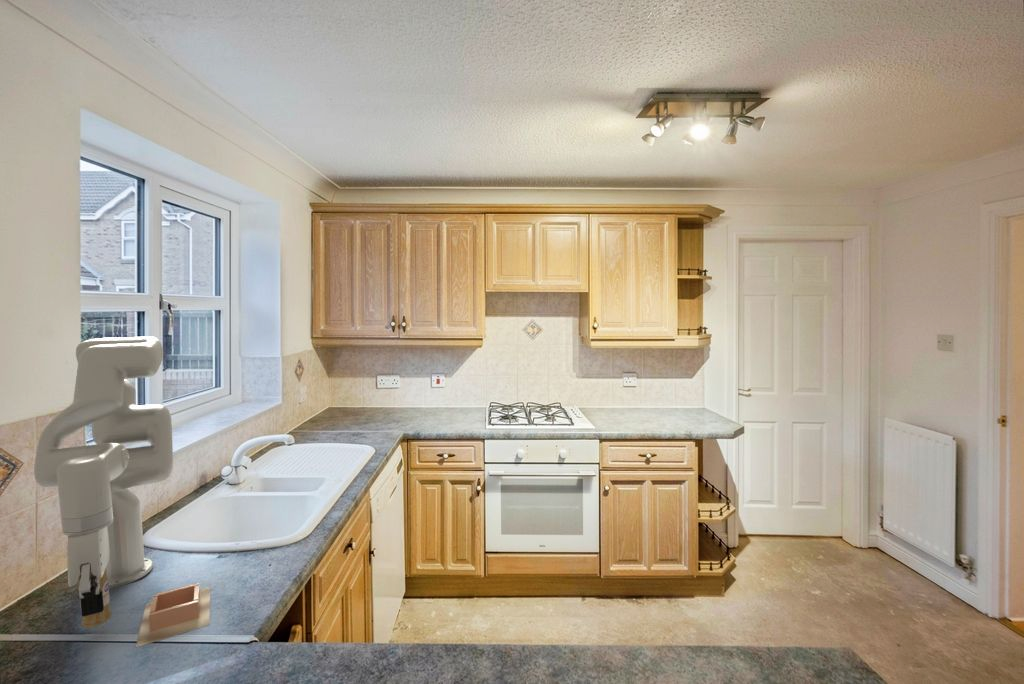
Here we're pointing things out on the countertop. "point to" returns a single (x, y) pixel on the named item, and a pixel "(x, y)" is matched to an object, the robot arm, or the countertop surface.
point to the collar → (174, 607)
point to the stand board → (180, 628)
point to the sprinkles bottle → (105, 614)
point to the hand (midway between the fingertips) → (95, 604)
